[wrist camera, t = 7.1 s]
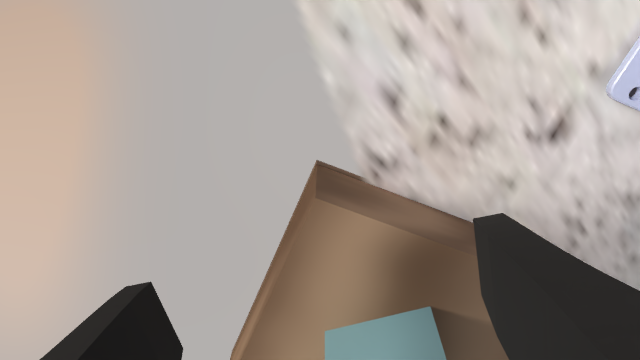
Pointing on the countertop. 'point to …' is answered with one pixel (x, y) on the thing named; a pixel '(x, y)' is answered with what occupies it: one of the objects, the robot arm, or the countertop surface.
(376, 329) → the teal block
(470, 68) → the countertop surface
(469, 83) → the countertop surface
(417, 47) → the countertop surface
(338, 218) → the walnut box
